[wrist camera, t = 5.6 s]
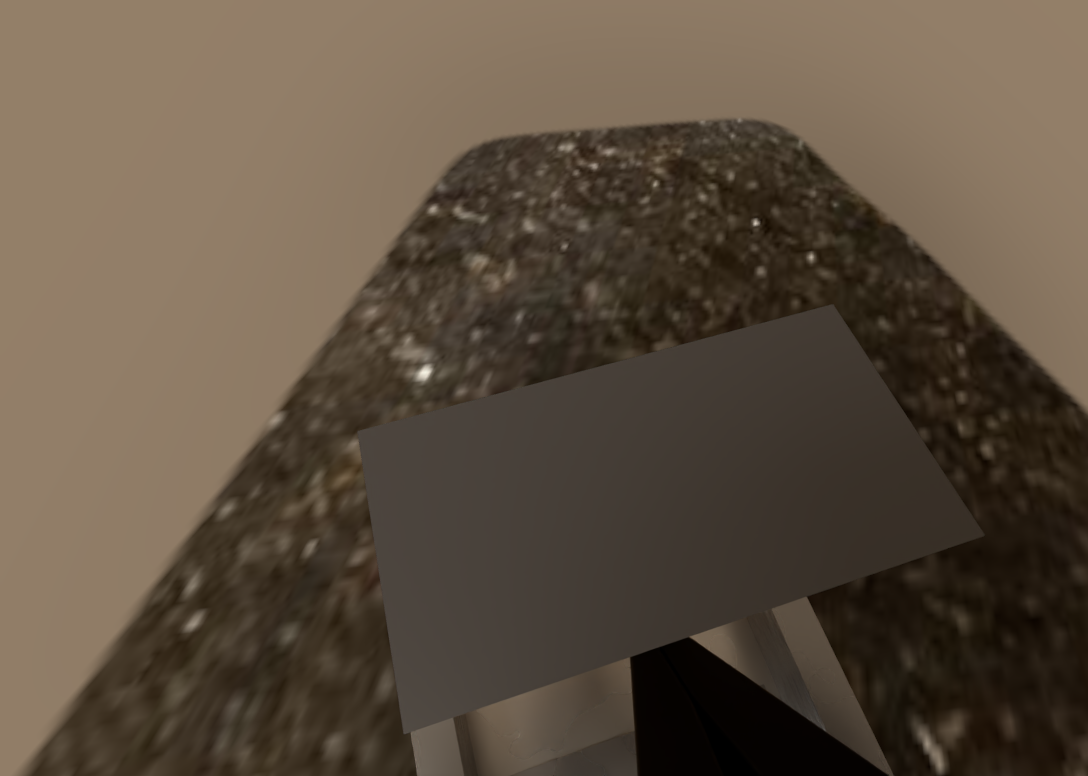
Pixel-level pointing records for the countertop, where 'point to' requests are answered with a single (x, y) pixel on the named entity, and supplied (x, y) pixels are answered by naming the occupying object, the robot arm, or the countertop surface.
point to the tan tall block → (640, 508)
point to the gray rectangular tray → (607, 708)
